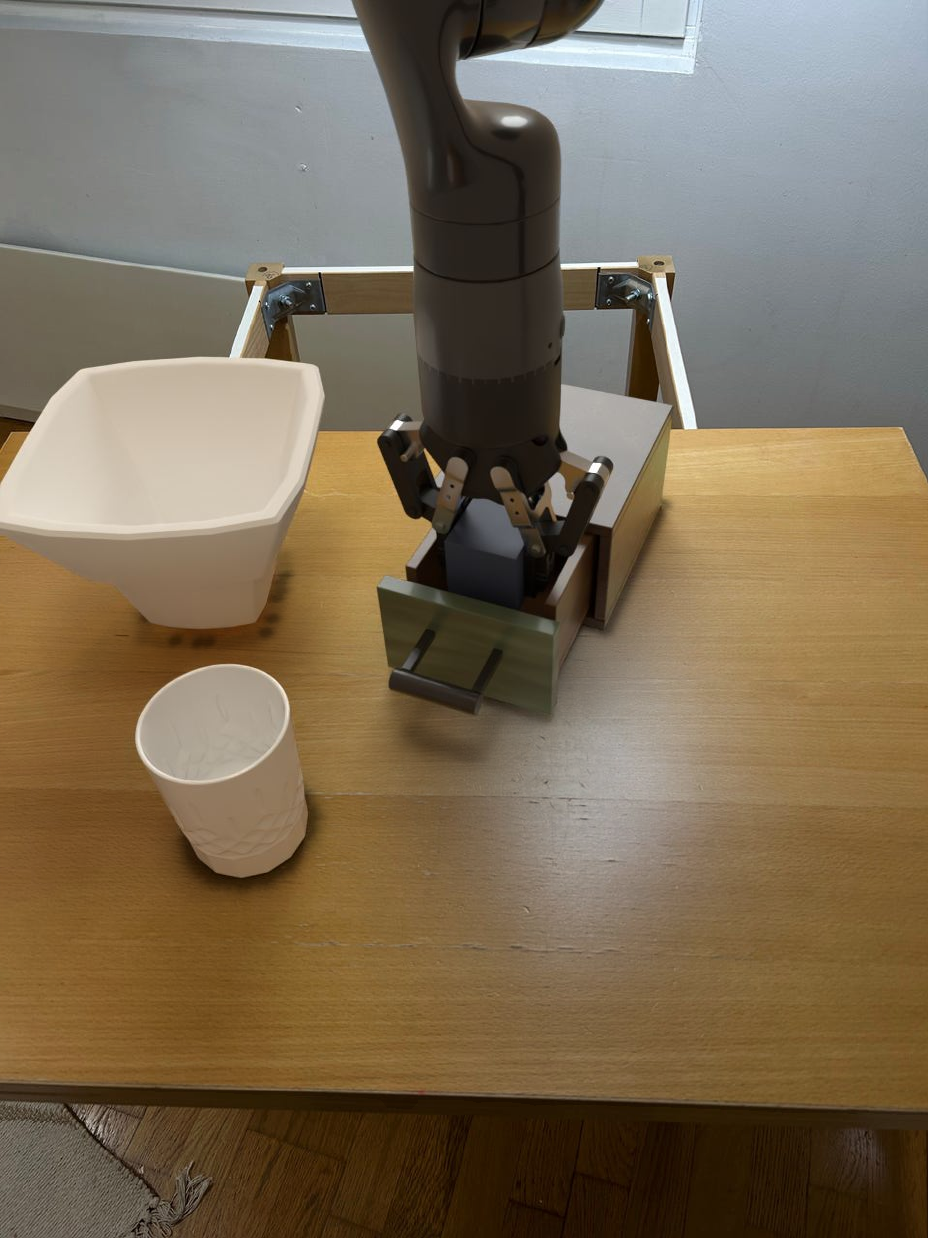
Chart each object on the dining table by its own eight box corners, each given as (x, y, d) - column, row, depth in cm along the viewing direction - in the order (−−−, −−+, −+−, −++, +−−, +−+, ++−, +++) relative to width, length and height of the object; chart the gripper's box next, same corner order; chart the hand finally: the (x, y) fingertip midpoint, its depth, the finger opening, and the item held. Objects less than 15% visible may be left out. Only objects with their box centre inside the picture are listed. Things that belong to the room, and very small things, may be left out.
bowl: (357, 509, 78) (334, 352, 68) (326, 696, 64) (291, 534, 54) (127, 512, 79) (70, 357, 69) (47, 697, 65) (-37, 538, 55)
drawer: (522, 776, 58) (522, 697, 53) (353, 721, 62) (337, 641, 57) (615, 578, 70) (623, 496, 65) (468, 541, 73) (464, 461, 68)
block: (542, 568, 63) (543, 512, 60) (516, 615, 60) (516, 559, 57) (476, 551, 65) (474, 495, 61) (448, 596, 62) (443, 541, 58)
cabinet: (604, 630, 68) (612, 528, 61) (437, 585, 71) (429, 485, 65) (661, 504, 77) (674, 404, 70) (511, 470, 81) (510, 373, 74)
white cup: (235, 755, 61) (197, 646, 54) (343, 799, 59) (318, 690, 52) (155, 856, 56) (102, 751, 49) (269, 909, 54) (230, 806, 47)
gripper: (330, 347, 50) (369, 589, 62) (600, 398, 46) (585, 649, 58) (395, 281, 55) (419, 518, 67) (645, 322, 50) (622, 568, 62)
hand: (496, 578), depth 62 cm, fingers closed on block, 4 cm apart
